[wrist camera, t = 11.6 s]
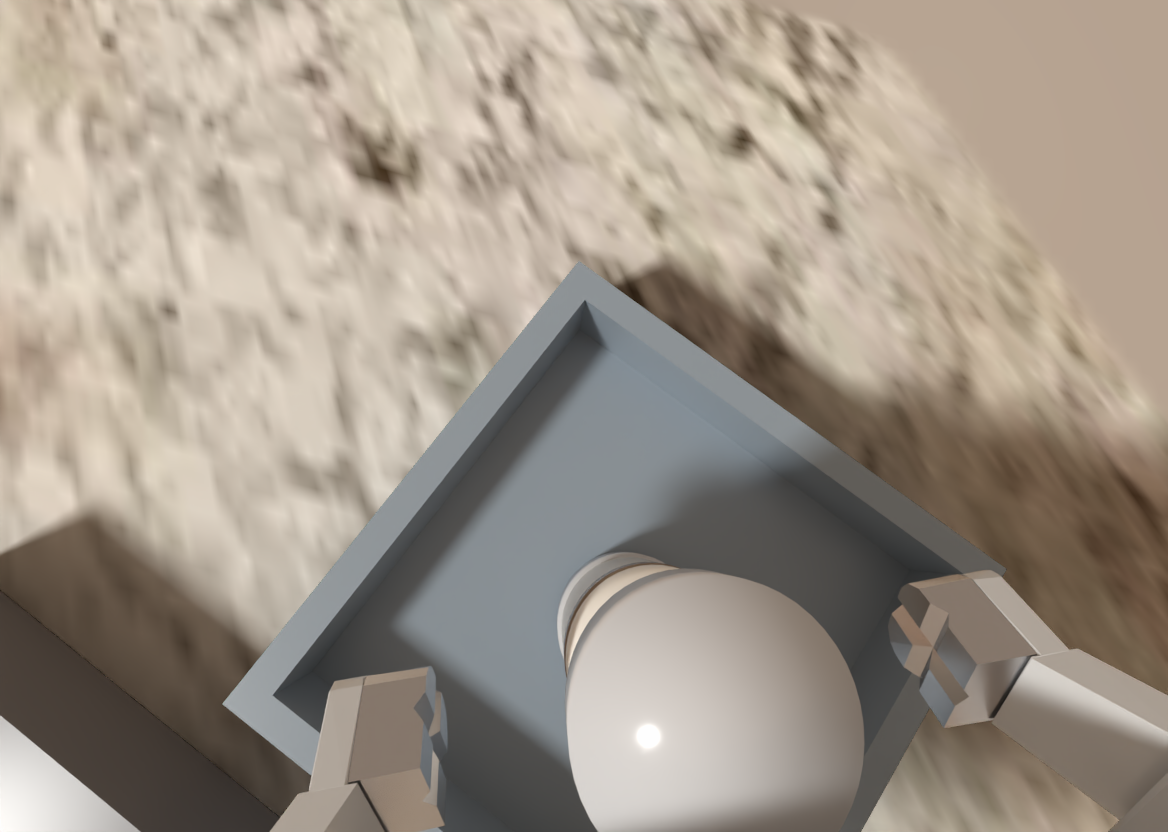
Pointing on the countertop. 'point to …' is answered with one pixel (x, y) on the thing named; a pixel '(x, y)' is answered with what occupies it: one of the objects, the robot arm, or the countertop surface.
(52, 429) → the countertop surface
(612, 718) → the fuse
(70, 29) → the countertop surface
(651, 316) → the parts tray
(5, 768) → the block
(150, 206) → the countertop surface
